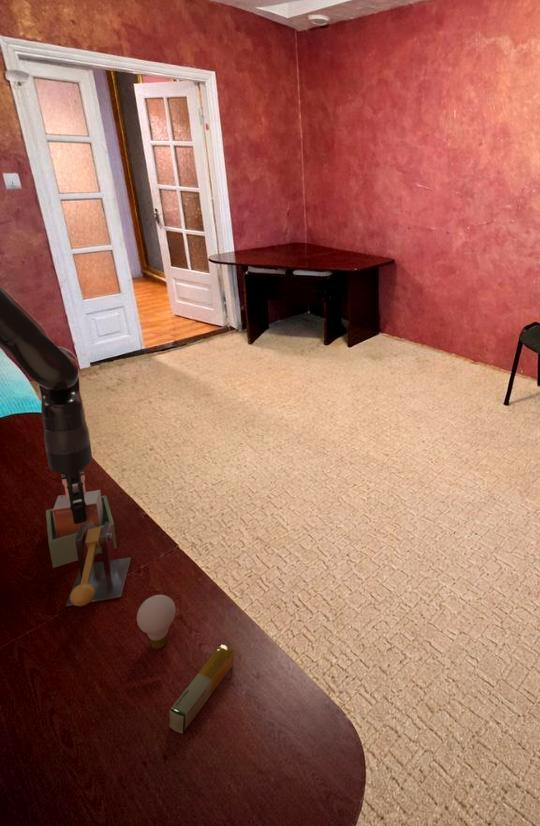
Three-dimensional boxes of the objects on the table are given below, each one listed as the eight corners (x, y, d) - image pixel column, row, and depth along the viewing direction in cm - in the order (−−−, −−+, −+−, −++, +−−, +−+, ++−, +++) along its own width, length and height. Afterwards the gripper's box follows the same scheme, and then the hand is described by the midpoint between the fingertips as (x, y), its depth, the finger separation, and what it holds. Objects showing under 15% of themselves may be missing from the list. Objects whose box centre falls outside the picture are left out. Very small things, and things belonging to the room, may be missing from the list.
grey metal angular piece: (121, 601, 92) (114, 545, 88) (66, 610, 89) (56, 554, 85) (131, 561, 102) (125, 510, 98) (82, 569, 99) (74, 516, 95)
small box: (58, 552, 102) (51, 510, 98) (63, 535, 106) (57, 495, 103) (102, 544, 105) (96, 503, 102) (105, 528, 110) (100, 488, 106)
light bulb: (154, 667, 80) (148, 620, 77) (133, 649, 83) (127, 603, 80) (185, 642, 85) (181, 597, 82) (164, 625, 87) (160, 581, 84)
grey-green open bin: (50, 536, 107) (45, 510, 105) (109, 519, 114) (106, 495, 112) (53, 570, 98) (48, 542, 96) (117, 550, 105) (114, 524, 102)
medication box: (182, 736, 70) (182, 718, 69) (167, 727, 71) (167, 710, 69) (234, 664, 81) (235, 648, 80) (220, 658, 82) (221, 641, 80)
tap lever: (94, 607, 84) (90, 597, 82) (70, 612, 83) (65, 601, 81) (108, 535, 95) (104, 525, 92) (87, 538, 93) (83, 528, 91)
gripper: (93, 454, 95) (103, 523, 100) (86, 426, 106) (94, 490, 111) (47, 464, 91) (59, 536, 96) (44, 433, 101) (55, 499, 106)
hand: (78, 511), depth 103 cm, fingers open, 8 cm apart
